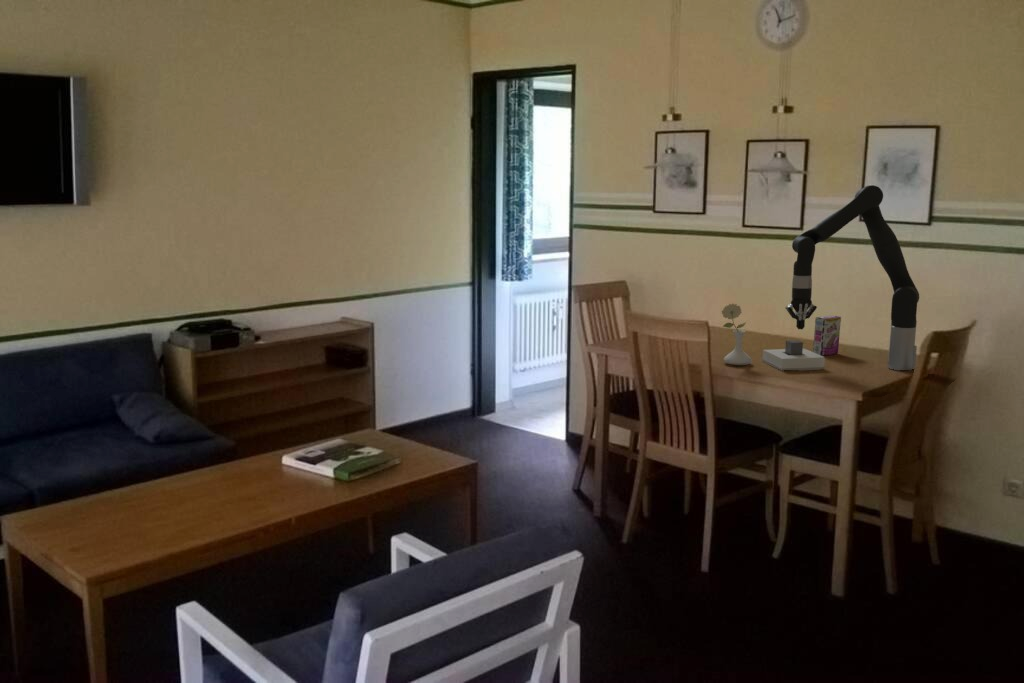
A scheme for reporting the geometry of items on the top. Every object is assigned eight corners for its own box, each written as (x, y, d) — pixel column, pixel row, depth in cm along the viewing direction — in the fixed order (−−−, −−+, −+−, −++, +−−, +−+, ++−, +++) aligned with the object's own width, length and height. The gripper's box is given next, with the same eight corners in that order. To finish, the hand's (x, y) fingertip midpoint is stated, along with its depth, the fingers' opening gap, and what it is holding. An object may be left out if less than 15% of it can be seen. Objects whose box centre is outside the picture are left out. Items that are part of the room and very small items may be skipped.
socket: (803, 360, 391) (804, 348, 390) (824, 369, 373) (824, 357, 372) (762, 361, 388) (763, 349, 387) (781, 371, 371) (782, 358, 370)
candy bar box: (821, 356, 398) (824, 318, 395) (812, 354, 402) (814, 317, 399) (839, 353, 404) (841, 316, 401) (829, 351, 408) (832, 314, 405)
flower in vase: (753, 362, 386) (756, 302, 382) (750, 368, 376) (753, 306, 371) (721, 360, 391) (723, 301, 386) (717, 365, 380) (720, 305, 375)
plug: (796, 361, 383) (797, 340, 382) (801, 364, 378) (803, 342, 377) (784, 362, 383) (785, 340, 381) (789, 364, 378) (791, 342, 376)
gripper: (812, 284, 380) (811, 326, 383) (782, 286, 378) (780, 328, 381) (821, 287, 373) (820, 329, 376) (790, 288, 371) (789, 331, 374)
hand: (800, 329), depth 378 cm, fingers closed
